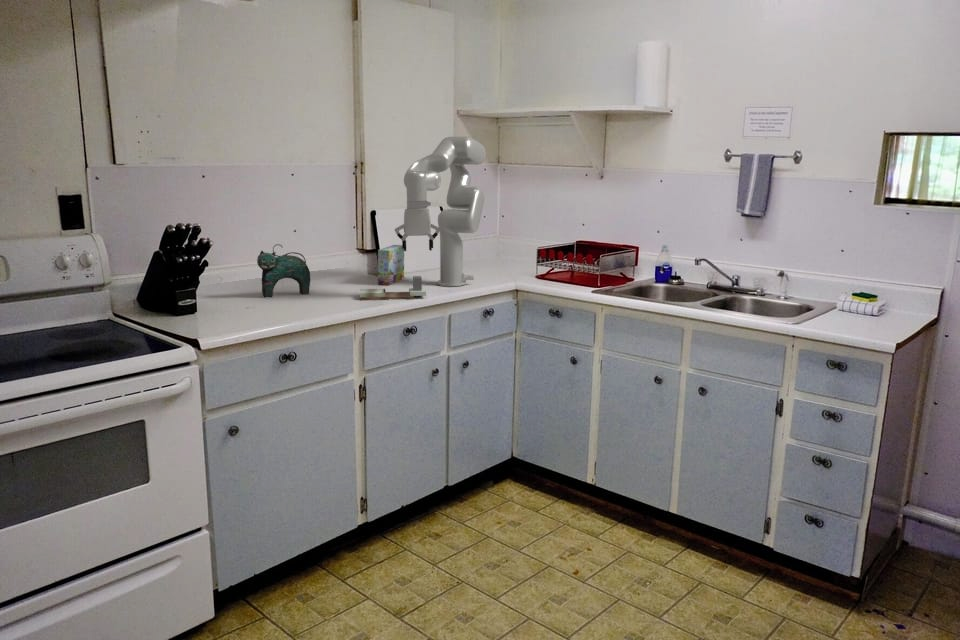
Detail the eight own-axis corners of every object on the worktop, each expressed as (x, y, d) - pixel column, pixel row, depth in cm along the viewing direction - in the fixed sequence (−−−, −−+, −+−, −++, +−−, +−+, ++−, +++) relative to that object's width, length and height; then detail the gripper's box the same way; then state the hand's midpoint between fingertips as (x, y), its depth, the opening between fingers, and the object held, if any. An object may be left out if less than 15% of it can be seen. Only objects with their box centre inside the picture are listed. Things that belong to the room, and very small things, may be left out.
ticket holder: (411, 294, 287) (411, 287, 286) (413, 299, 276) (413, 292, 276) (360, 295, 284) (360, 288, 284) (360, 300, 274) (359, 293, 273)
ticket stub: (424, 291, 287) (424, 275, 285) (426, 295, 278) (425, 278, 276) (409, 291, 286) (408, 275, 284) (410, 295, 277) (410, 278, 276)
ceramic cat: (261, 298, 275) (258, 246, 270) (256, 296, 280) (253, 244, 276) (312, 294, 285) (310, 243, 280) (307, 291, 290) (305, 241, 286)
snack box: (390, 285, 306) (389, 250, 303) (377, 285, 307) (376, 249, 304) (405, 278, 326) (404, 244, 323) (393, 277, 327) (392, 244, 324)
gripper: (438, 204, 279) (439, 248, 284) (393, 204, 277) (394, 249, 281) (440, 205, 272) (441, 251, 276) (394, 206, 270) (395, 252, 274)
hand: (417, 250), depth 279 cm, fingers open, 9 cm apart
